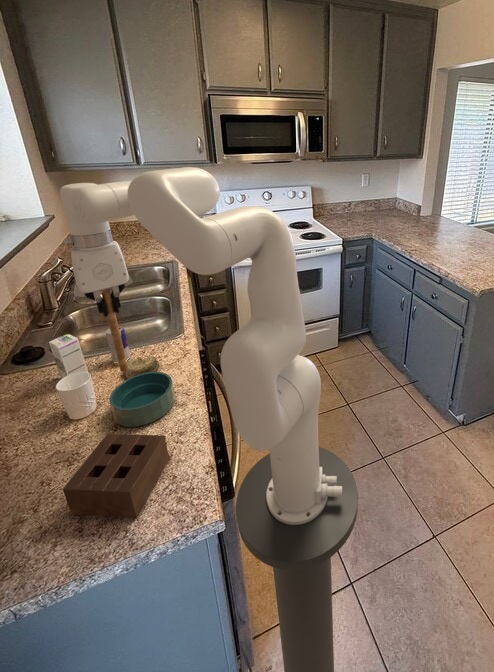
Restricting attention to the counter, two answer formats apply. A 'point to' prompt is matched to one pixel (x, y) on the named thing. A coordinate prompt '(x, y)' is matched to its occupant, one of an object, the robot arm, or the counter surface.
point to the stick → (115, 330)
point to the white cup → (77, 395)
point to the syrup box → (68, 355)
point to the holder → (117, 476)
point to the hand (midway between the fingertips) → (110, 312)
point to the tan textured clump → (141, 366)
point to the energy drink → (112, 348)
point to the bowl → (142, 399)
